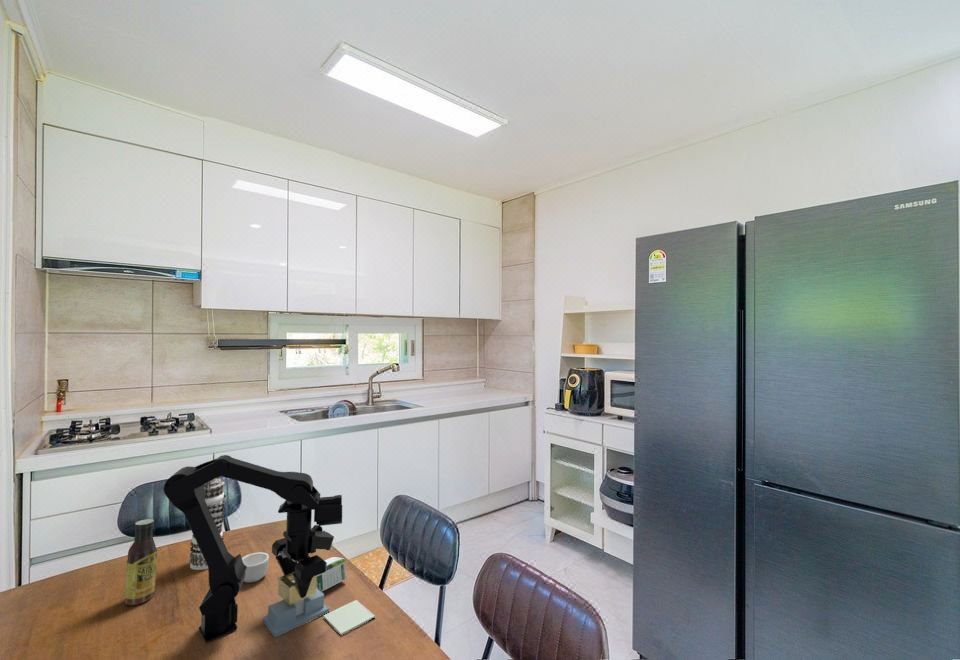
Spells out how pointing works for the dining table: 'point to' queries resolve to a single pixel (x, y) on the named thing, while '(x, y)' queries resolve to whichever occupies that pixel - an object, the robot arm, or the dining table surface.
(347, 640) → the dining table surface
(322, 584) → the syrup box
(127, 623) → the dining table surface
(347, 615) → the off-white board
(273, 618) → the blue stepped base
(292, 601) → the brass collar
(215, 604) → the robot arm
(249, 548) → the dining table surface
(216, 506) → the white patterned cylinder
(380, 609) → the dining table surface
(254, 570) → the teacup
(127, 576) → the sauce bottle
